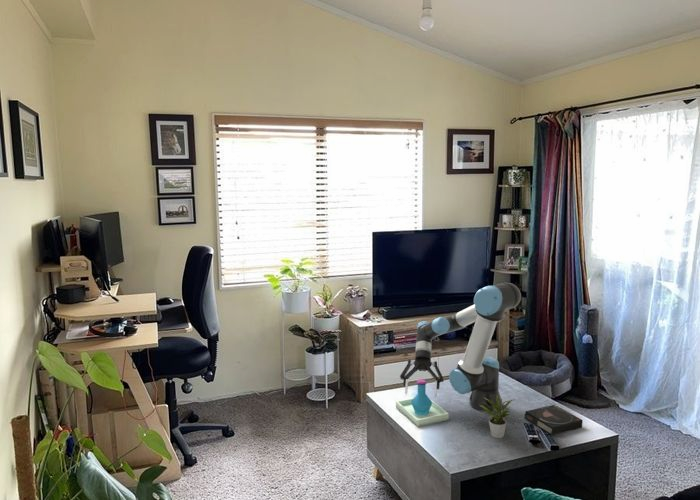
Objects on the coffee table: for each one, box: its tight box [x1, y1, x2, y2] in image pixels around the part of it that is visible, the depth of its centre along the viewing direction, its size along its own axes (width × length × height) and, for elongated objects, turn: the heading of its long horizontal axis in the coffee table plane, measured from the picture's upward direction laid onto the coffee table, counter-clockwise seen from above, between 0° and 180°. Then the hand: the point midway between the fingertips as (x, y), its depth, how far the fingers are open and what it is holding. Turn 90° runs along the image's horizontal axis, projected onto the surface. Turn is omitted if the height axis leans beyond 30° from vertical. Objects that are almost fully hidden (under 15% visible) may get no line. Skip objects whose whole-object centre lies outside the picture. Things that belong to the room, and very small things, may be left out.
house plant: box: [480, 395, 516, 439], centre depth 218 cm, size 14×14×16 cm
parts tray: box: [395, 397, 450, 428], centre depth 239 cm, size 21×16×3 cm
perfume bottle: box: [412, 378, 432, 415], centre depth 238 cm, size 9×9×15 cm
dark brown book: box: [524, 404, 583, 436], centre depth 227 cm, size 16×17×4 cm
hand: (420, 394), depth 238 cm, fingers open, 13 cm apart
